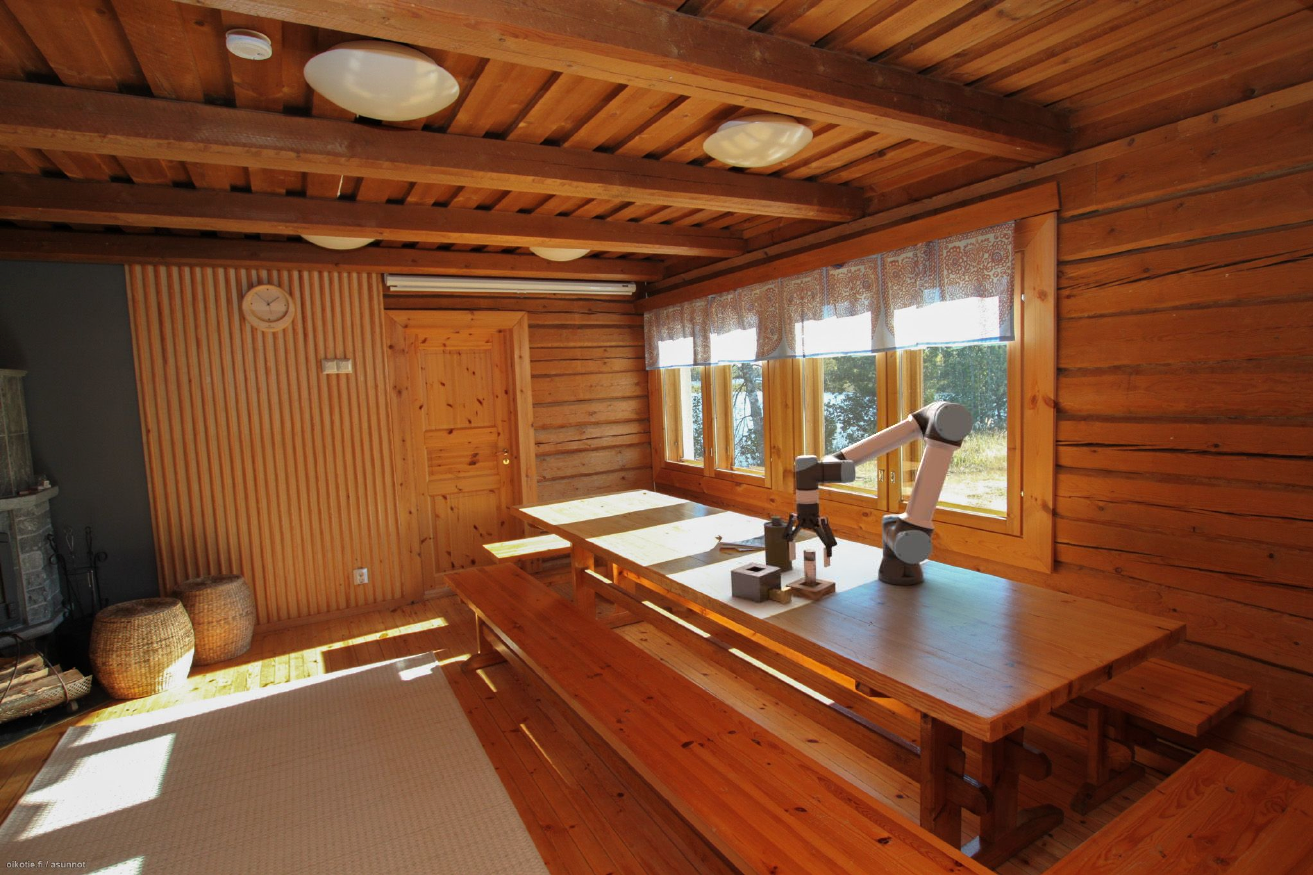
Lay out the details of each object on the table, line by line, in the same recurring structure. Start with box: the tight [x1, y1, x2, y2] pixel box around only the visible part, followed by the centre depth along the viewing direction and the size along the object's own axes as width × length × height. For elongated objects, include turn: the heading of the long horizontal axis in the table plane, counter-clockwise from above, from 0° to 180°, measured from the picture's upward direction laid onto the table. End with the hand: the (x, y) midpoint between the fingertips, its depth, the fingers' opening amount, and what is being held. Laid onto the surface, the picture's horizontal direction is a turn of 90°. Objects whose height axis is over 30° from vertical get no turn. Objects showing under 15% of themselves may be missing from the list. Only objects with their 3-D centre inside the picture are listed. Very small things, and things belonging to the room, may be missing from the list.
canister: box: [763, 515, 794, 573], centre depth 261 cm, size 11×10×20 cm
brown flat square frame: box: [784, 576, 836, 602], centre depth 232 cm, size 12×12×3 cm
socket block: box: [730, 562, 782, 604], centre depth 232 cm, size 12×12×9 cm
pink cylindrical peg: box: [802, 548, 817, 588], centre depth 231 cm, size 4×4×14 cm
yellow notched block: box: [768, 586, 792, 605], centre depth 227 cm, size 12×4×4 cm, turn 44°
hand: (809, 563), depth 231 cm, fingers open, 13 cm apart
